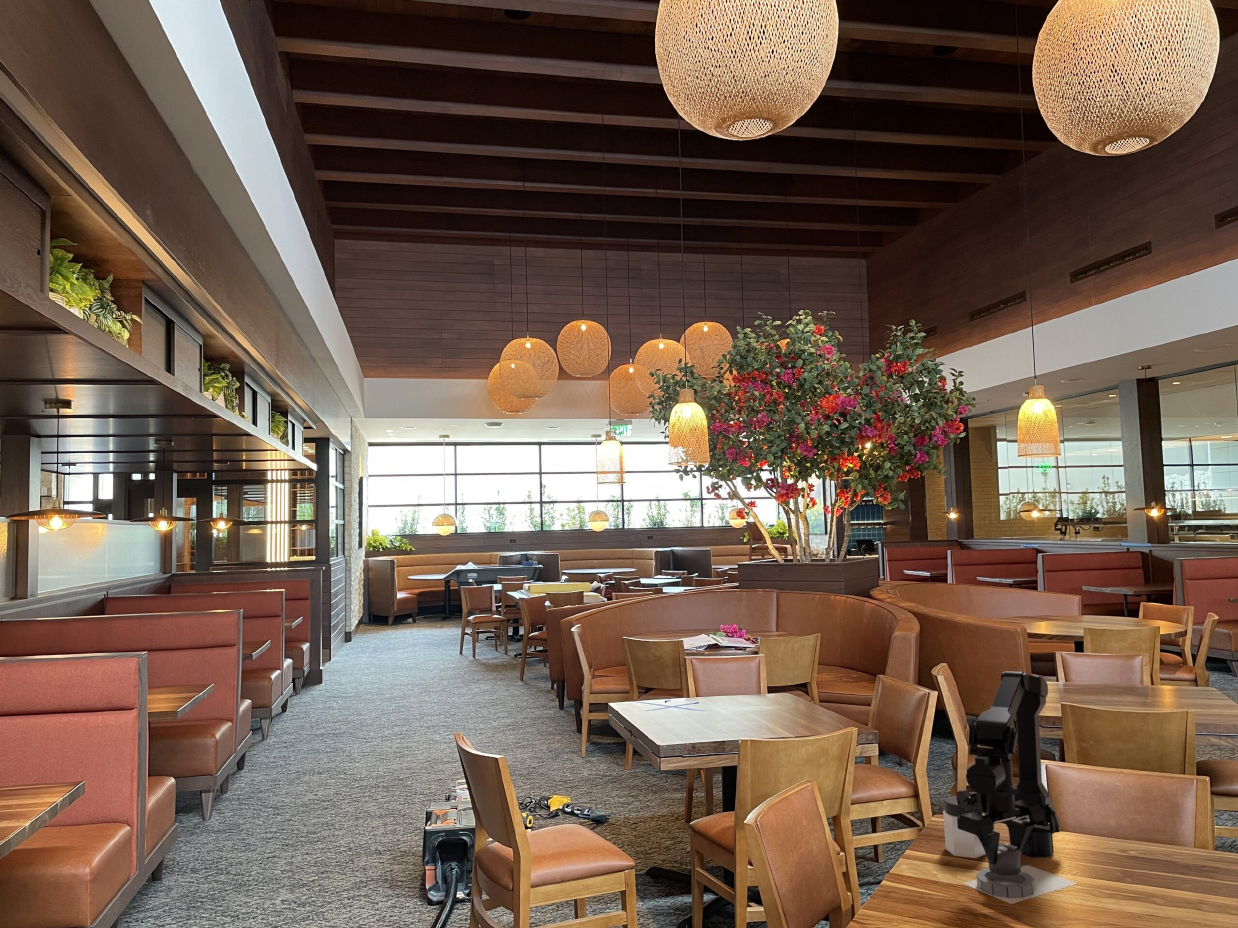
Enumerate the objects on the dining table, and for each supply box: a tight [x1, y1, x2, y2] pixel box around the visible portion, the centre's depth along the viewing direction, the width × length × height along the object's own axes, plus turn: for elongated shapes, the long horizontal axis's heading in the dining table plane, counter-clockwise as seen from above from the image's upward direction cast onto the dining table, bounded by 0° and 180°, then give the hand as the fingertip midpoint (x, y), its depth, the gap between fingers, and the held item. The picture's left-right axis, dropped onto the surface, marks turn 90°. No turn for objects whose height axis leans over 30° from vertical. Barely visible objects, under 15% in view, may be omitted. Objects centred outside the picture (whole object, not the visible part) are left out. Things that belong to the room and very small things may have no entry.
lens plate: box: [962, 864, 1079, 905], centre depth 182 cm, size 19×12×3 cm, turn 116°
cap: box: [987, 842, 1022, 876], centre depth 181 cm, size 6×6×4 cm
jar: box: [942, 795, 986, 859], centre depth 202 cm, size 9×8×12 cm
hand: (1004, 860), depth 181 cm, fingers closed on cap, 6 cm apart
